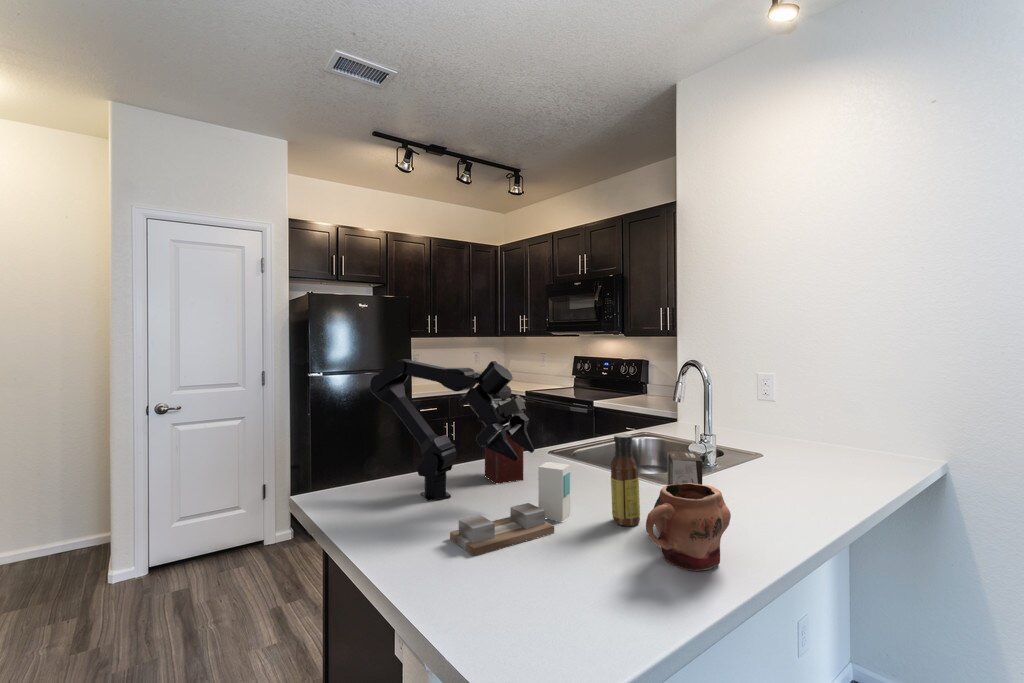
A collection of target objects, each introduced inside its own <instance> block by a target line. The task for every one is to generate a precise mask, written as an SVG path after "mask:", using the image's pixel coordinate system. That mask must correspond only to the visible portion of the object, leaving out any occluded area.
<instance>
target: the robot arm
mask: <svg viewBox="0 0 1024 683" xmlns="http://www.w3.org/2000/svg"><path fill="white" fill-rule="evenodd" d="M409 377H415V378H418V379H423V380H428V381H431V382H436V383H439V384H441V385H442V386H443V387H444V388H446V389H449V390H451V391H453V392H462V391H467V392H465V394H460V395H459V401H458V406H459V407H463V406H467V405H468V406H469V407H470V408H471V410H472V411H473V413H475V414H476V415H477V418H476V421H477V422H478V423H480V422H481V423H483V425H484V427H483V428H482V429H481V430H480V432H478V433H477V435H475V437H476V438H475V442H476V443H477V445H478V446H479V447H480V448H483V447H484V449H485V448H486V449H490V450H492V451H495V452H497V453H499V454H501V455H503V456H505V457H507V458H509V459H512V460H514V461H517V460H518V459H519V458H518V456H517V454H516V453H515V451H514V450H513V448H512V447H511V445H510V444H509V442H508V441H507V439H506V434H507V435H509V436H510V437H509V438H510V439H511V440H513V441H514V442H516V443H517V444H519V445H520V446H521V447H523V450H526V451H527V452H529V453H530V454H532V453H534V452H535V448H534V446H533V443H532V440H531V438H530V436H529V434H528V430H527V428H528V424H529V420H530V419H529V417H528V416H527V415H526V413H523V414H521V413H520V414H517V415H513V414H514V413H516V412H518V411H521V410H522V411H523V412H524V411H525V410H526V409H527V408H526V403H527V401H526V400H525V399H524V398H523V396H522V397H521V396H520V394H518V395H514V396H512V397H511V401H509V402H506V403H504V404H502V403H501V402H497V403H496V402H495V400H494V399H495V398H494V397H493V396H492V395H495V396H497V395H498V394H499V393H500V392H501V391H502V390H503V389H504V388H505V386H506V385H507V386H508V385H509V383H511V381H512V380H513V379H514V377H513V374H512V373H511V371H510V370H509V369H507V368H505V366H503V365H502V364H499V363H498V361H496V360H493V361H489V363H488V365H487V366H486V368H484V369H483V371H482V372H481V373H479V372H475V369H473V368H472V367H471V368H470V367H443V366H440V365H434V364H429V363H425V362H421V361H420V362H419V361H416V360H412V359H408V358H407V359H405V358H404V359H399V360H397V361H396V362H394V363H393V364H392V365H391V366H390V367H387V368H386V369H384V370H382V371H380V372H379V374H375V375H374V376H373V377H372V378H371V379H370V384H369V389H370V391H371V393H372V394H373V395H374V396H375V397H376V398H377V399H378V400H380V401H381V402H384V403H385V404H387V405H389V407H391V408H392V410H393V412H395V414H396V415H397V416H398V417H399V419H400V420H401V422H402V423H403V424H404V426H406V429H408V431H409V433H410V434H411V435H412V436H413V438H414V439H415V441H416V442H418V444H419V446H420V451H421V452H420V453H421V457H422V459H423V461H422V462H421V463H420V464H419V465H418V466H417V468H416V471H417V473H418V476H419V477H423V478H424V480H423V481H424V491H422V492H419V495H420V496H422V497H423V499H425V500H426V501H428V502H430V501H436V500H442V499H448V498H451V497H452V495H451V494H450V493H449V492H448V491H447V472H449V471H451V470H452V468H453V466H454V464H455V463H456V461H457V458H458V457H457V456H458V451H457V450H456V448H455V447H456V444H454V443H453V442H452V441H451V440H450V438H449V437H448V436H447V434H444V435H441V436H440V435H438V434H436V433H435V432H434V431H433V429H432V427H431V426H430V425H429V423H428V422H427V421H426V420H425V419H424V417H423V416H422V415H421V414H420V411H419V410H417V409H416V407H415V405H413V404H412V402H411V401H410V399H409V398H408V396H406V392H405V390H406V389H405V385H404V383H406V382H407V381H408V378H409ZM485 425H486V426H485Z"/></svg>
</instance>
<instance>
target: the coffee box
mask: <svg viewBox="0 0 1024 683" xmlns="http://www.w3.org/2000/svg"><path fill="white" fill-rule="evenodd" d="M684 483H693V484H700V485H703V459H702V458H701V457H700V456H699V455H698V453H697V452H696V451H681V450H680V451H679V450H678V451H677V450H676V451H674V450H672V451H669V450H668V451H667V485H673V484H684Z"/></svg>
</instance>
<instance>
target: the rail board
mask: <svg viewBox="0 0 1024 683" xmlns="http://www.w3.org/2000/svg"><path fill="white" fill-rule="evenodd" d="M509 511H510V512H509V513H510V514H509V515H510V516H508V517H504V518H500V519H496V520H490V519H488V518H487V517H484V516H483V515H481V514H475V515H471V516H467V517H464V518H459V519H458V529H457V530H451V531H450V532H449V539H450V540H451V541H452V540H453V541H454V543H455V544H456V543H457V546H459V545H460V546H461V547H460V546H459V547H460V548H462V547H463V548H464V549H463V548H462V549H463V550H465V551H466V552H467V551H468V553H469V554H470V555H472V556H473V557H477V556H479V555H483V553H484V554H487V553H490V552H494V551H497V550H500V549H499V548H501V549H504V548H507V547H506V546H508V547H510V546H509V545H511V546H513V545H512V544H515V545H517V544H516V543H518V544H521V543H524V541H525V542H527V541H526V540H528V541H532V540H534V538H535V539H538V538H537V537H539V538H541V537H540V536H542V537H544V536H543V535H545V536H547V534H549V535H551V534H550V533H552V534H554V533H555V525H554V524H551V523H550V522H547V521H546V519H545V510H543V509H541V508H539V506H537V505H534V504H532V503H529V502H526V503H522V504H518V505H514V506H511V507H510V510H509ZM531 539H532V540H531ZM453 541H452V542H453ZM520 542H521V543H520ZM503 547H504V548H503ZM496 549H497V550H496ZM493 550H494V551H493ZM486 552H487V553H486Z"/></svg>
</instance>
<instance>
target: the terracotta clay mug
mask: <svg viewBox="0 0 1024 683" xmlns="http://www.w3.org/2000/svg"><path fill="white" fill-rule="evenodd" d="M731 517H732V516H731V511H730V509H729V507H728V506H727V503H726V502H725V500H724V497H723V493H722V492H721V490H719V489H718V488H716V487H714V486H711V485H708V484H702V485H700V484H693V483H684V484H673V485H668V484H667V485H665V486H663V487H661V490H660V491H659V496H658V497H657V499H656V501H655V503H654V507H653V508H652V509H651V510H650V511H649V513H648V514H647V516H646V521H645V532H646V533H647V535H648V537H649V538H650V540H651V541H652V542H654V543H655V545H657V547H658V546H659V547H660V551H661V553H662V556H663V558H664V559H665V560H666V561H667V562H668V563H669V564H671V565H673V566H675V567H678V568H681V569H684V570H688V571H698V572H699V571H707V570H711V569H713V568H715V567H717V566H718V565H720V564H721V539H722V536H723V534H724V532H726V530H727V529H728V527H729V525H730V522H731ZM654 527H655V529H656V533H657V534H658V536H656V535H655V532H654Z"/></svg>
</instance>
